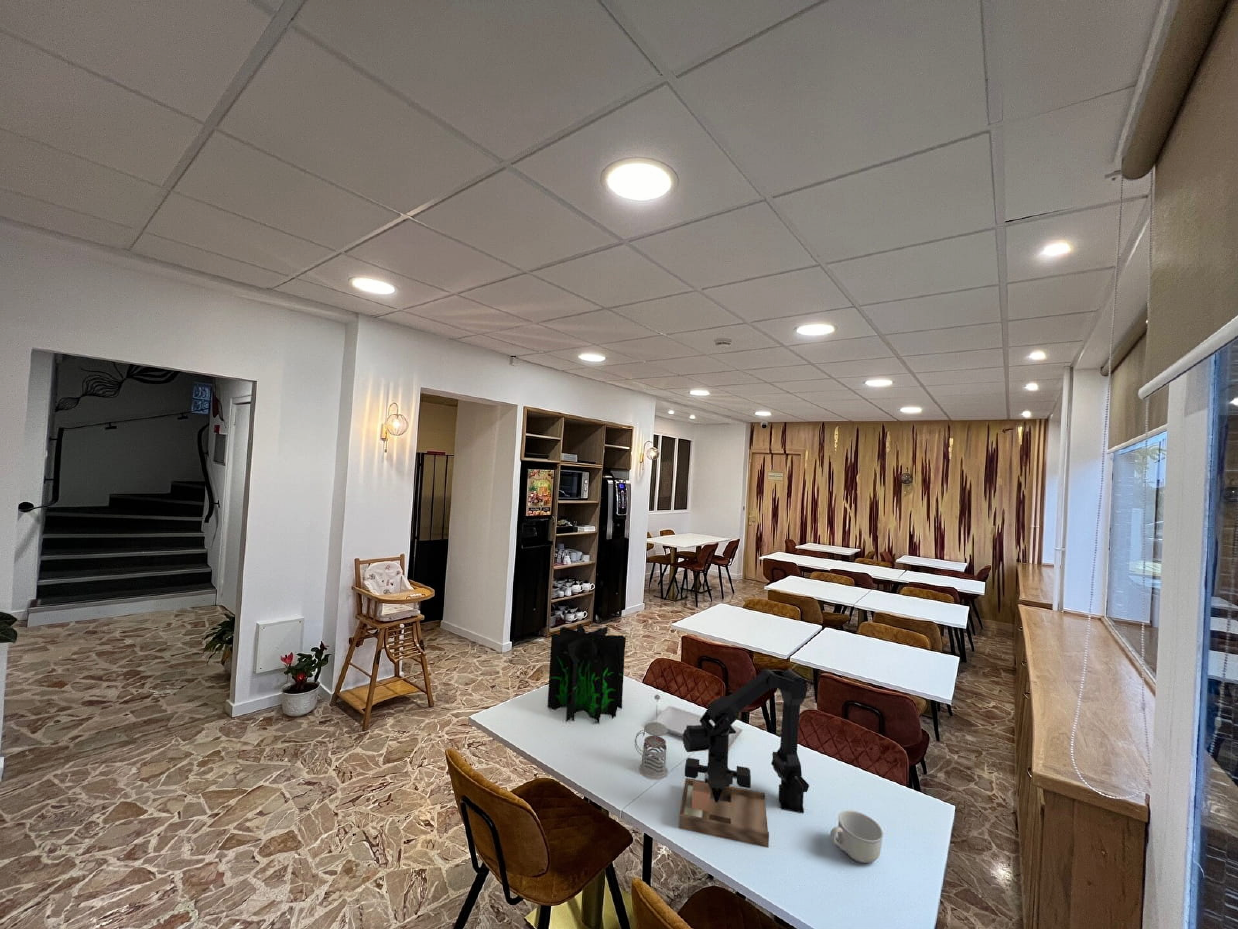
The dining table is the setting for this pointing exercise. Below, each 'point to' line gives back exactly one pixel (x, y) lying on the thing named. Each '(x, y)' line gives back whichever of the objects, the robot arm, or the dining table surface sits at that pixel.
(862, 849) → the teacup
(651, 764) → the french press
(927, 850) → the dining table surface
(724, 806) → the box
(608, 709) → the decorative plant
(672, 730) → the tray
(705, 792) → the block
